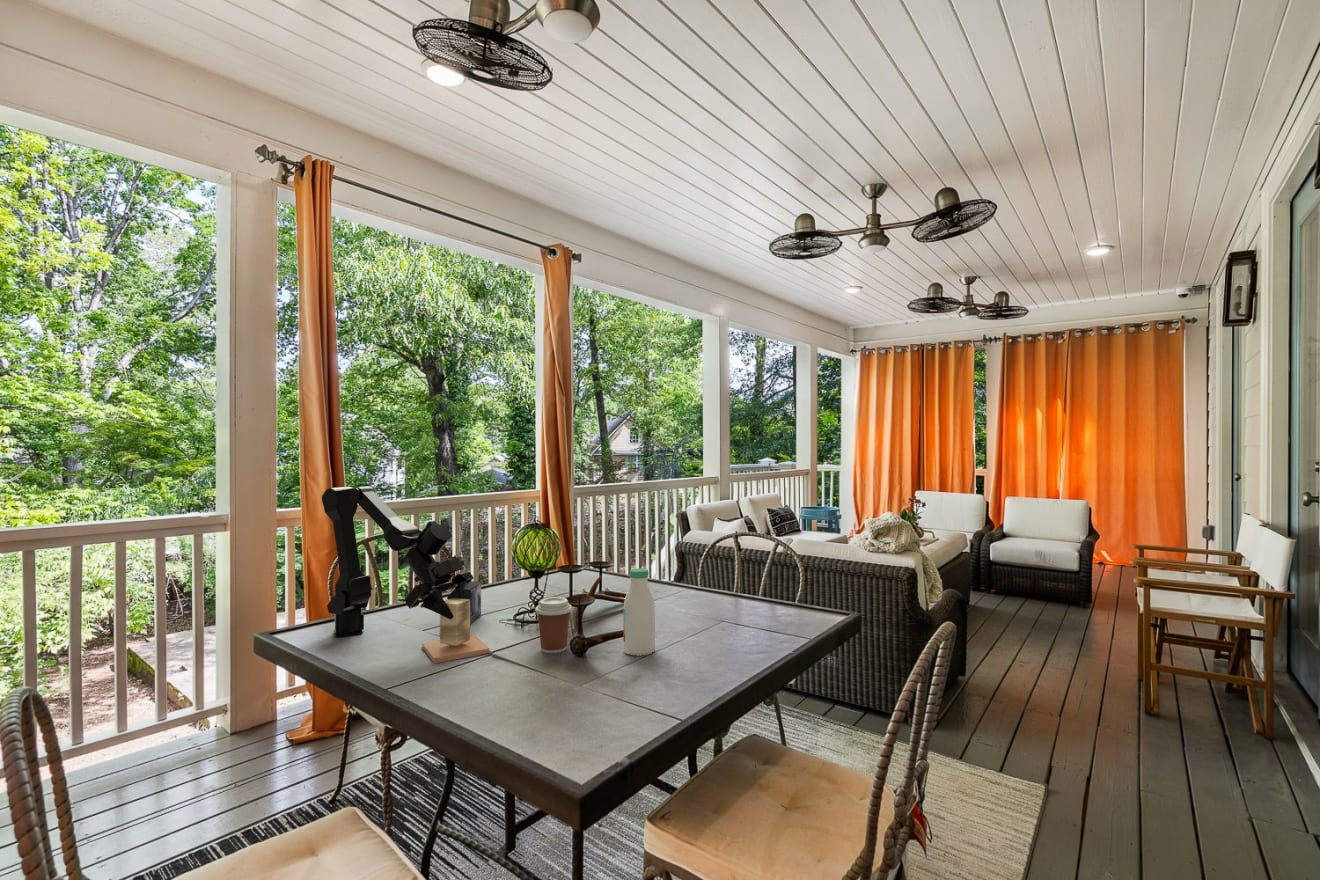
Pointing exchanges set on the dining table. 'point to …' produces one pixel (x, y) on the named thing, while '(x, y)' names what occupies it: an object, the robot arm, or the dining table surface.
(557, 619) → the coffee cup
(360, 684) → the dining table surface
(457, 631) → the maple block
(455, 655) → the terracotta tile
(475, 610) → the small box
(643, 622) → the milk bottle
